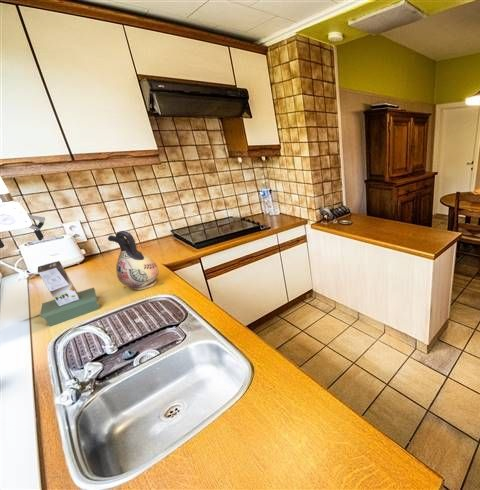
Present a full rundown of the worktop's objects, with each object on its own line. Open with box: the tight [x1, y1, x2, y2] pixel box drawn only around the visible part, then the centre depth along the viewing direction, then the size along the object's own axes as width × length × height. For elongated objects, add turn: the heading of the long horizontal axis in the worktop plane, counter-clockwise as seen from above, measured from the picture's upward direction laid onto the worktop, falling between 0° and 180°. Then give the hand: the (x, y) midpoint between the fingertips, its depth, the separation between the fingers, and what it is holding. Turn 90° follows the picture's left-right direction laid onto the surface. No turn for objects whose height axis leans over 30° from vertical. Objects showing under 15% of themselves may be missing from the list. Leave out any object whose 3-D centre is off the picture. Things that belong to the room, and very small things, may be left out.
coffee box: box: [37, 260, 79, 306], centre depth 110 cm, size 9×6×16 cm
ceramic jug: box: [107, 230, 159, 291], centre depth 127 cm, size 17×15×30 cm
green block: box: [39, 287, 101, 327], centre depth 114 cm, size 16×12×6 cm
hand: (22, 243), depth 103 cm, fingers open, 9 cm apart
